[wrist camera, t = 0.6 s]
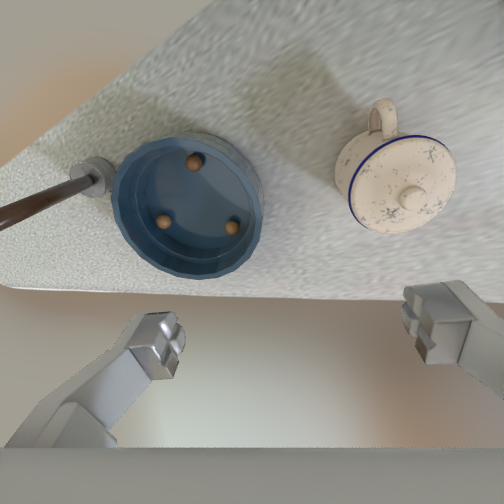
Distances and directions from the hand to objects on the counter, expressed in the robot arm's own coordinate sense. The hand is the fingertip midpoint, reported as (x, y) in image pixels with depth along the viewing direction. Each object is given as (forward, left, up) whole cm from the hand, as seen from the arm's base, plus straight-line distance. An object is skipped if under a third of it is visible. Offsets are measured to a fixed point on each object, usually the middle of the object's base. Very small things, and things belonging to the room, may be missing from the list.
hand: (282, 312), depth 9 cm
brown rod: (-2, -23, -26) cm, 35 cm away
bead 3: (+7, -8, -24) cm, 26 cm away
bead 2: (-2, -10, -24) cm, 26 cm away
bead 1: (+5, -17, -24) cm, 30 cm away
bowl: (+4, -11, -26) cm, 28 cm away
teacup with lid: (+2, +11, -26) cm, 28 cm away
